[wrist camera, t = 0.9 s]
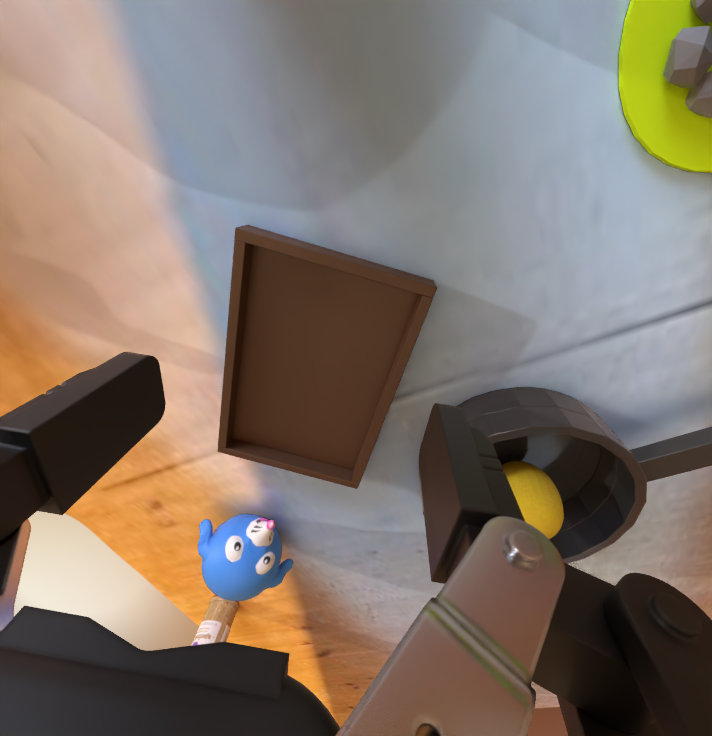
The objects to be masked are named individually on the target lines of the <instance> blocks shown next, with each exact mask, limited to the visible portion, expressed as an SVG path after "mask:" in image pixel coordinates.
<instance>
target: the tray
mask: <svg viewBox="0 0 712 736" xmlns="http://www.w3.org/2000/svg"><path fill="white" fill-rule="evenodd" d="M436 289H437V287H436V285H435V283H434V281H433V280H430V279H427V278H424V277H420V276H417V275H414V274H410V273H407V272H404V271H400V270H397V269H394V268H390V267H387V266H384V265H380V264H377V263H374V262H370V261H367V260H364V259H360V258H357V257H354V256H350V255H347V254H344V253H340V252H337V251H334V250H330V249H327V248H324V247H320V246H317V245H314V244H310V243H307V242H304V241H300V240H297V239H293V238H290V237H287V236H283V235H280V234H277V233H273V232H270V231H267V230H263V229H260V228H257V227H253V226H250V225H245V226H241V227H237V228H236V229H235V242H234V255H233V267H232V279H231V292H230V304H229V317H228V329H227V341H226V354H225V366H224V378H223V391H222V403H221V416H220V428H219V440H218V452H221V453H225V454H228V455H232V456H236V457H240V458H243V459H247V460H251V461H255V462H258V463H262V464H266V465H270V466H273V467H277V468H281V469H285V470H288V471H292V472H296V473H300V474H303V475H307V476H311V477H315V478H318V479H322V480H326V481H330V482H333V483H337V484H341V485H345V486H348V487H352V488H356V489H357V488H358V486H359V483H360V481H361V478H362V476H363V473H364V471H365V468H366V466H367V463H368V461H369V458H370V456H371V453H372V451H373V448H374V446H375V443H376V440H377V438H378V435H379V433H380V430H381V428H382V425H383V423H384V420H385V418H386V415H387V413H388V410H389V408H390V405H391V403H392V400H393V398H394V395H395V393H396V390H397V388H398V385H399V383H400V380H401V377H402V375H403V372H404V370H405V367H406V365H407V362H408V360H409V357H410V355H411V352H412V350H413V347H414V345H415V342H416V340H417V337H418V335H419V332H420V330H421V327H422V325H423V322H424V320H425V317H426V315H427V312H428V309H429V307H430V304H431V302H432V299H433V297H434V294H435V292H436Z"/></svg>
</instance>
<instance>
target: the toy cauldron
mask: <svg viewBox="0 0 712 736" xmlns="http://www.w3.org/2000/svg"><path fill="white" fill-rule="evenodd" d="M619 92H620V97H621V102H622V107H623V111H624V115H625V118H626V120H627V122H628V124H629V126H630V128H631V130H632V132H633V134H634V137H635V138H636V139H637V140H638V141H639V142H640V143H641V145H642V146H643V147H644V148H645V149H646V150H647V151H648V153H649V154H651V155H652V156H654V157H656V158H657V159H659V160H660V161H662V162H664V163H665V164H667V165H669V166H672V167H675V168H679V169H682V170H686V171H689V172H706V173H712V0H631V1H630V5H629V8H628V11H627V14H626V17H625V20H624V26H623V32H622V38H621V44H620V51H619Z"/></svg>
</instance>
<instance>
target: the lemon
mask: <svg viewBox="0 0 712 736" xmlns="http://www.w3.org/2000/svg"><path fill="white" fill-rule="evenodd" d="M502 467H503V472H504V473H505V474H506V477H507V479H508V481H509V484H510V486H511V489H512V491H513V493H514V496H515V498H516V500H517V503H518V505H519V508H520V510H521V512H522V515H523V517H524V519H525V522H526V523H528V524H530V525H532V526H533V527H535V528H536V529H538V530H539V531H540V532H542V533H543V534H544V535H545V536H546V537H547V538H548V539H550V538H552V537H553V536H555V535H556V534H557V533H558V531H559V530H560V528H561V526H562V523H563V519H564V512H563V504H562V500H561V497H560V494H559V492H558V490H557V488H556V486H555V485H554V483H553V481H552V480H551V479H550V478H549V476H548V475H547V474H546V473H545V472H543V471H542V470H541V469H540V468H538V467H537V466H535V465H533V464H531V463H528V462H524V461H511V462H507V463H505V464H503V465H502Z"/></svg>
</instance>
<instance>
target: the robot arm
mask: <svg viewBox="0 0 712 736" xmlns="http://www.w3.org/2000/svg"><path fill="white" fill-rule="evenodd" d="M164 410H165V397H164V391H163V384H162V378H161V372H160V366H159V362H158V360H157V359H156V358H155V357H154V356H149V355H143V354H137V353H131V352H123V353H121V354H119V355H117V356H115V357H114V358H112V359H110V360H108V361H107V362H105V363H103V364H101V365H100V366H98V367H96V368H93V369H90V370H87V371H84V372H81V373H79V374H77V375H75V376H74V377H72V378H70V379H68V380H66V381H65V382H63V383H62V385H61V386H60V385H57V386H56V387H54V388H52V389H50V390H48V391H47V392H46V394H41V395H40V396H38V397H36V398H34V399H32V400H31V401H29V402H27V403H25V404H23V405H22V406H20V407H18V408H16V409H14V410H13V411H11V412H9V413H7V414H6V415H4V416H2V417H0V736H527V733H528V729H529V726H530V723H531V719H532V715H533V711H534V707H535V701H536V692H535V690H534V689H533V688H532V687H531V682H532V681H533V682H534V683H536V684H538V685H540V686H541V687H543V688H545V689H547V690H548V691H550V692H552V693H553V694H555V695H557V698H558V701H559V705H560V708H561V711H562V715H563V718H564V722H565V725H566V728H567V732H568V735H569V736H712V620H711V619H710V618H709V617H708V616H707V615H706V614H705V613H704V611H702V610H701V609H700V608H699V607H698V606H697V605H696V604H695V603H694V602H693V601H692V600H690V599H689V598H688V597H687V596H685V595H684V594H683V593H681V592H680V591H678V590H677V589H675V588H674V587H672V586H671V585H669V584H667V583H665V582H663V581H661V580H660V579H657V578H655V577H652V576H649V575H646V574H641V573H630V574H627V575H625V576H624V577H622V578H621V580H620V581H619V582H618V583H617V584H616V585H615V586H614V585H612V584H610V583H607V582H605V581H603V580H601V579H599V578H596V577H594V576H592V575H590V574H587V573H585V572H583V571H581V570H579V569H576V568H574V567H572V566H570V565H568V564H566V563H565V562H563V560H562V557H561V555H560V553H559V552H558V550H557V548H556V547H555V546H554V545H553V543H552V542H551V541H550V540H549V539H548V538H547V537H546V536H545V535H544V534H543V533H542V532H540V531H539V530H538V529H536V528H535V527H533V526H532V525H530V524H528V523H526V522H525V519H524V517H523V515H522V512H521V510H520V508H519V505H518V503H517V500H516V498H515V496H514V493H513V491H512V489H511V486H510V484H509V481H508V479H507V477H506V474H505V473H504V472H503V467H502V465H501V462H500V460H498V455H497V453H496V451H495V448H494V446H493V443H492V442H491V441H490V439H489V438H488V437H487V436H486V435H485V434H484V433H483V432H482V431H481V430H480V429H479V428H474V427H469V424H468V421H467V418H466V415H465V413H464V410H463V408H461V407H455V406H449V405H443V404H437V403H435V404H434V405H433V408H432V410H431V414H430V417H429V420H428V424H427V427H426V431H425V434H424V438H423V441H422V444H421V449H420V455H419V472H420V481H421V490H422V499H423V508H424V518H425V527H426V536H427V545H428V554H429V564H430V573H431V581H433V582H438V583H444V584H445V585H444V587H443V588H442V590H441V591H440V592H439V594H438V595H437V596H436V598H431V599H430V600H429V601H428V603H427V604H426V605H425V607H424V608H423V609H422V611H421V612H420V614H419V615H418V616H417V618H416V619H415V621H414V622H413V624H412V625H411V627H410V628H409V630H408V631H407V632H406V634H405V635H404V637H403V638H402V640H401V641H400V643H399V644H398V646H397V647H396V648H395V650H394V651H393V653H392V654H391V656H390V657H389V659H388V660H387V661H386V663H385V664H384V666H383V667H382V669H381V670H380V672H379V673H378V675H377V676H376V677H375V679H374V680H373V682H372V683H371V685H370V686H369V688H368V689H367V691H366V692H365V693H364V695H363V696H362V698H361V699H360V701H359V702H358V704H357V705H356V707H355V708H354V709H353V711H352V712H351V714H350V715H349V717H348V718H347V720H346V721H345V722H344V724H343V725H342V727H341V728H340V727H339V725H338V724H337V722H336V721H335V720H334V718H333V717H332V715H331V714H330V712H329V711H328V709H327V708H326V707H325V706H324V705H323V704H322V702H321V701H320V700H319V699H318V698H317V697H316V696H315V695H314V694H313V693H312V692H311V691H310V690H309V689H307V688H306V687H305V686H304V685H303V684H301V683H300V682H298V681H297V680H295V679H293V678H292V677H290V676H288V675H287V674H288V662H289V653H284V652H278V651H273V650H267V649H261V648H256V647H250V646H245V645H239V644H234V643H228V642H217V643H209V644H201V645H193V646H186V647H178V648H170V649H162V650H154V651H144V650H140V649H138V648H136V647H135V646H133V645H132V644H130V643H129V642H127V641H125V640H124V639H122V638H121V637H119V636H117V635H116V634H114V633H113V632H111V631H109V630H108V629H106V628H105V627H103V626H101V625H100V624H98V623H97V622H95V621H94V620H92V619H91V618H89V617H84V616H79V615H73V614H68V613H62V612H57V611H51V610H45V609H40V608H34V607H29V606H24V607H23V608H22V609H21V610H20V611H19V612H18V613H17V614H16V616H15V617H14V603H15V599H16V594H17V590H18V585H19V581H20V576H21V572H22V568H23V563H24V559H25V554H26V550H27V545H28V540H29V536H30V532H31V525H30V522H29V520H28V518H29V517H30V516H31V515H33V514H34V513H35V512H36V511H42V512H48V513H54V514H59V515H63V514H64V513H65V512H66V511H67V510H68V509H69V508H70V507H71V506H72V505H73V504H74V503H75V502H76V501H77V500H78V499H80V498H81V497H82V496H83V495H84V494H85V493H86V492H87V491H88V490H89V489H90V488H91V487H92V486H93V485H94V484H95V483H96V482H97V481H98V480H99V479H100V478H101V477H102V476H103V475H104V474H105V473H107V472H108V471H109V470H110V469H111V468H112V467H113V466H114V465H115V464H116V463H117V462H118V461H119V460H120V459H121V458H122V457H123V456H124V455H125V454H126V453H127V452H128V451H129V450H130V449H131V448H133V447H134V446H135V445H136V444H137V443H138V442H139V441H140V440H141V439H142V438H143V437H144V436H145V435H146V434H147V433H148V432H149V431H150V430H151V429H152V428H153V427H154V426H155V425H156V424H157V423H158V422H159V421H160V420H161V418H162V416H163V413H164Z"/></svg>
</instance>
